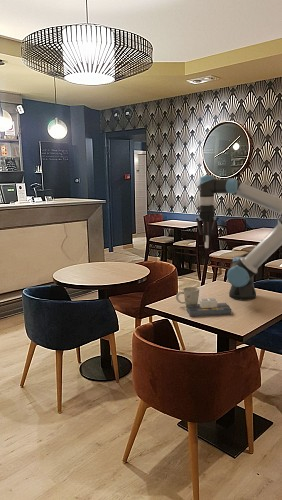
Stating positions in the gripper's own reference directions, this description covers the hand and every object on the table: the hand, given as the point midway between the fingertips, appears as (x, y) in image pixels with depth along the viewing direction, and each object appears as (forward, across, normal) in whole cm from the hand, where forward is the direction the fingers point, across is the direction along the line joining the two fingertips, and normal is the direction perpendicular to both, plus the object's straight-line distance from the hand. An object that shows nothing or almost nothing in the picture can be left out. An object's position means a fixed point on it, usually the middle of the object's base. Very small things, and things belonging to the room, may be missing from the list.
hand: (206, 247), depth 217 cm
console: (+30, +4, +20) cm, 36 cm away
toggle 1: (+27, +6, +20) cm, 34 cm away
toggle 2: (+27, +1, +20) cm, 34 cm away
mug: (+31, +12, +9) cm, 34 cm away
